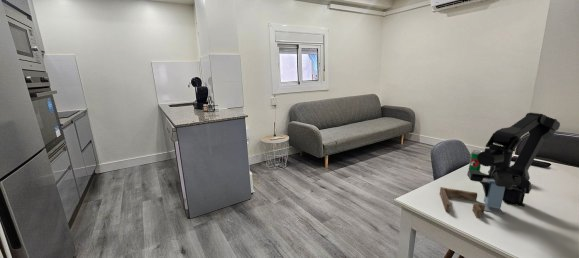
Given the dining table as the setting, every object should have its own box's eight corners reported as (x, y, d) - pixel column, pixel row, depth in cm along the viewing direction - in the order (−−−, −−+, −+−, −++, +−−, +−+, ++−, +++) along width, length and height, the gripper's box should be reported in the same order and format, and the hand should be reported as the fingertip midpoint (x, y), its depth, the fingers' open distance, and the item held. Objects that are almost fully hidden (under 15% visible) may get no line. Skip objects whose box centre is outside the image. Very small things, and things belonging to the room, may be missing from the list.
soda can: (481, 173, 132) (485, 153, 129) (471, 173, 133) (474, 152, 130) (476, 170, 137) (480, 150, 134) (466, 169, 138) (470, 149, 135)
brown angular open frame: (475, 199, 106) (476, 192, 105) (487, 219, 92) (488, 211, 91) (439, 193, 112) (440, 187, 111) (445, 211, 98) (446, 204, 97)
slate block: (496, 202, 100) (501, 180, 98) (500, 208, 96) (505, 185, 94) (483, 200, 102) (487, 179, 99) (487, 205, 98) (491, 183, 96)
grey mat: (497, 206, 101) (498, 205, 101) (504, 214, 95) (504, 213, 95) (479, 202, 104) (479, 202, 104) (483, 210, 98) (484, 210, 98)
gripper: (477, 166, 91) (471, 202, 95) (543, 173, 84) (532, 213, 88) (470, 156, 101) (464, 190, 105) (527, 162, 94) (519, 198, 97)
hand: (493, 197), depth 98 cm, fingers closed on slate block, 4 cm apart
